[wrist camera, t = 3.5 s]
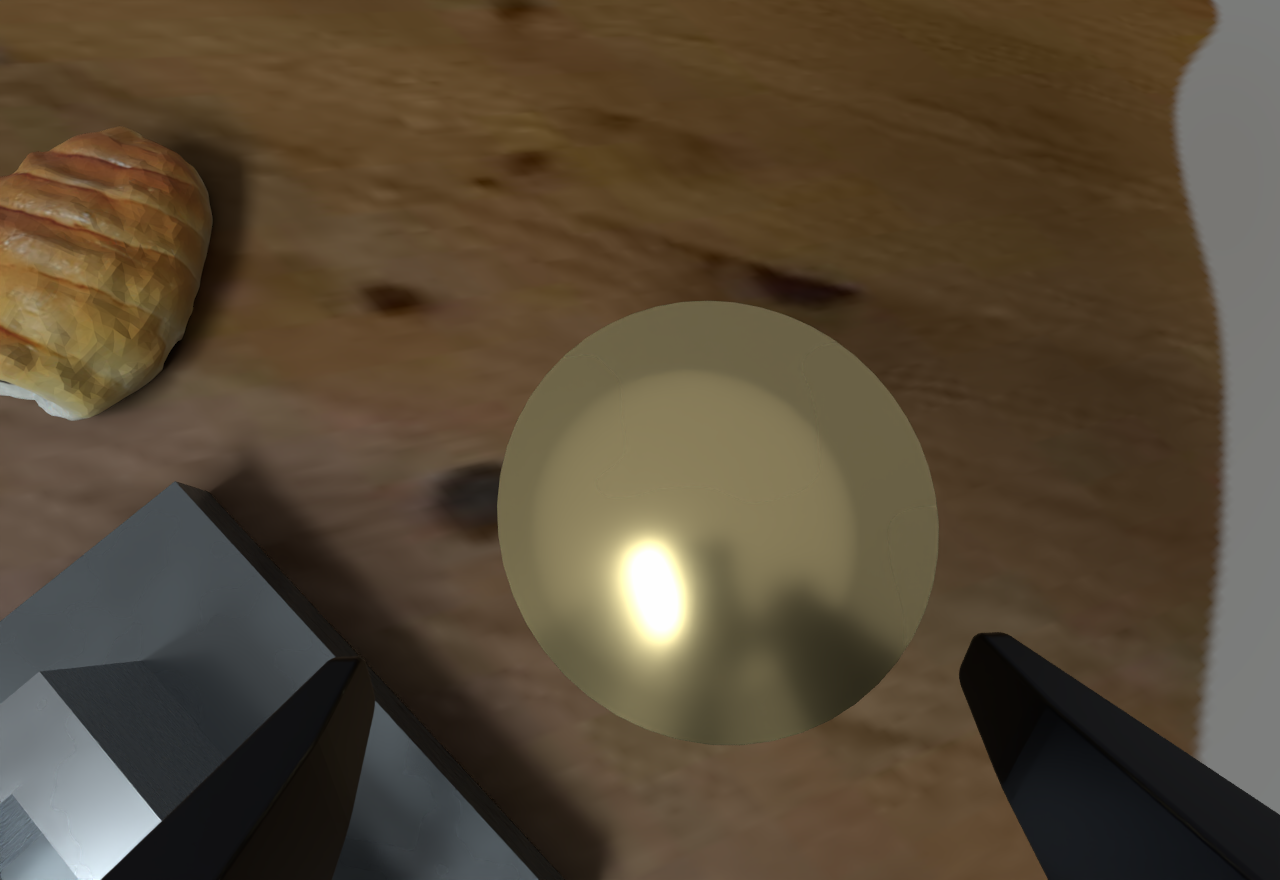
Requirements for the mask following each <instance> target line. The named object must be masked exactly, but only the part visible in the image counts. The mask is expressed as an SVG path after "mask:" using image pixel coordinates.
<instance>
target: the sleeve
mask: <svg viewBox="0 0 1280 880" xmlns="http://www.w3.org/2000/svg"><path fill="white" fill-rule="evenodd" d="M497 510H498V535H499V541H500V547H501V553H502V559H503V565H504V568H505V571H506V574H507V578H508V581H509V584H510V587H511V591H512V594H513V596H514V598H515V600H516V603H517V605H518V607H519V609H520V611H521V613H522V615H523V618H524V620H525V622H526V624H527V625H528V627H529V628H530V630H531V632H532V633H533V635H534V636H535V638H536V639H537V641H538V643H539V644H540V646H541V647H542V649H543V650H544V651H545V653H546V654H547V655H548V656H549V657H550V658H551V660H552V661H553V662H554V663H555V664H556V666H557V667H558V668H559V669H560V670H561V671H562V673H563V674H564V675H565V676H566V677H567V678H569V679H570V680H571V681H572V682H573V683H574V684H575V685H576V686H577V687H579V688H580V689H581V690H582V691H583V692H584V693H585V694H586V695H588V696H589V697H590V698H592V699H593V700H595V701H596V702H598V703H599V704H601V705H602V706H604V707H605V708H607V709H608V710H610V711H611V712H613V713H614V714H616V715H617V716H619V717H621V718H624V719H626V720H628V721H630V722H632V723H634V724H636V725H638V726H640V727H642V728H644V729H647V730H650V731H653V732H656V733H659V734H662V735H665V736H669V737H672V738H675V739H679V740H685V741H691V742H697V743H703V744H712V745H745V744H753V743H761V742H769V741H774V740H778V739H781V738H785V737H788V736H792V735H796V734H799V733H802V732H805V731H807V730H809V729H811V728H814V727H816V726H818V725H820V724H822V723H825V722H827V721H829V720H831V719H833V718H834V717H836V716H837V715H839V714H840V713H842V712H843V711H845V710H847V709H848V708H850V707H851V706H853V705H854V704H856V703H857V702H858V701H859V700H860V699H862V698H863V697H864V696H865V695H866V694H867V693H868V692H870V691H871V690H872V689H873V688H874V687H875V686H877V685H878V684H879V683H880V681H881V680H882V679H883V678H884V677H885V676H886V674H887V673H888V672H889V671H890V670H891V669H892V667H893V666H894V665H895V664H896V663H897V662H898V660H899V658H900V657H901V655H902V654H903V652H904V651H905V649H906V647H907V646H908V644H909V643H910V641H911V639H912V638H913V636H914V634H915V632H916V630H917V627H918V625H919V623H920V621H921V619H922V616H923V614H924V612H925V610H926V606H927V603H928V599H929V596H930V593H931V589H932V586H933V582H934V576H935V570H936V563H937V557H938V533H939V523H938V514H937V504H936V496H935V491H934V487H933V483H932V478H931V474H930V470H929V467H928V464H927V461H926V459H925V456H924V453H923V450H922V448H921V445H920V442H919V440H918V438H917V436H916V434H915V432H914V430H913V429H912V427H911V425H910V423H909V421H908V419H907V417H906V416H905V414H904V412H903V411H902V409H901V408H900V406H899V405H898V403H897V402H896V400H895V399H894V397H893V396H892V395H891V393H890V392H889V391H888V390H887V389H886V387H885V386H884V385H883V384H882V383H881V381H880V380H879V379H878V378H877V377H876V375H875V374H874V373H873V372H872V371H871V370H869V369H868V368H867V367H866V366H865V365H864V364H863V363H862V362H861V361H860V360H859V359H858V358H857V357H856V356H855V355H853V354H852V353H851V352H849V351H848V350H847V349H845V348H844V347H843V346H841V345H840V344H839V343H837V342H836V341H835V340H833V339H832V338H830V337H828V336H827V335H825V334H823V333H821V332H820V331H818V330H816V329H815V328H813V327H811V326H809V325H807V324H805V323H802V322H800V321H798V320H796V319H793V318H791V317H789V316H787V315H784V314H780V313H777V312H774V311H771V310H768V309H765V308H761V307H756V306H751V305H746V304H740V303H734V302H720V301H694V302H680V303H675V304H669V305H663V306H657V307H654V308H651V309H647V310H644V311H641V312H637V313H634V314H631V315H629V316H627V317H625V318H622V319H620V320H618V321H616V322H613V323H611V324H609V325H607V326H606V327H604V328H602V329H601V330H599V331H597V332H596V333H594V334H592V335H591V336H589V337H587V338H586V339H585V340H583V341H582V342H581V343H580V344H578V345H577V346H576V347H575V348H573V349H572V350H571V351H570V352H568V353H567V354H566V355H565V356H564V357H563V358H562V359H561V360H560V361H559V362H558V363H557V364H556V365H555V366H554V367H553V368H552V369H551V370H550V371H549V372H548V373H547V375H546V376H545V377H544V379H543V380H542V381H541V383H540V384H539V385H538V387H537V388H536V390H535V391H534V392H533V394H532V395H531V396H530V398H529V400H528V402H527V404H526V405H525V407H524V409H523V411H522V413H521V415H520V416H519V418H518V420H517V422H516V425H515V428H514V430H513V433H512V435H511V438H510V440H509V443H508V446H507V449H506V453H505V457H504V462H503V466H502V470H501V474H500V483H499V493H498V503H497Z"/></svg>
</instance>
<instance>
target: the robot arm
mask: <svg viewBox="0 0 1280 880" xmlns="http://www.w3.org/2000/svg"><path fill="white" fill-rule="evenodd" d="M959 679H960V684H961V687H962V690H963V692H964V695H965V697H966V700H967V702H968V705H969V707H970V710H971V712H972V715H973V717H974V720H975V722H976V725H977V727H978V730H979V732H980V735H981V738H982V740H983V743H984V745H985V748H986V750H987V753H988V755H989V758H990V760H991V763H992V765H993V768H994V770H995V773H996V775H997V777H998V780H999V782H1000V784H1001V787H1002V789H1003V791H1004V793H1005V795H1006V797H1007V799H1008V801H1009V803H1010V805H1011V807H1012V809H1013V811H1014V813H1015V815H1016V817H1017V819H1018V821H1019V823H1020V825H1021V827H1022V829H1023V831H1024V833H1025V835H1026V837H1027V839H1028V841H1029V843H1030V845H1031V847H1032V849H1033V851H1034V853H1035V855H1036V857H1037V859H1038V860H1039V862H1040V864H1041V866H1042V868H1043V870H1044V872H1045V874H1046V876H1047V878H1048V880H1280V815H1279V814H1278V813H1276V812H1275V811H1273V810H1271V809H1270V808H1269V807H1267V806H1265V805H1264V804H1263V803H1261V802H1260V801H1258V800H1256V799H1255V798H1254V797H1252V796H1251V795H1249V794H1248V793H1246V792H1245V791H1243V790H1242V789H1240V788H1238V787H1237V786H1235V785H1234V784H1232V783H1231V782H1229V781H1228V780H1226V779H1225V778H1223V777H1222V776H1220V775H1219V774H1217V773H1216V772H1214V771H1213V770H1211V769H1210V768H1208V767H1207V766H1205V765H1204V764H1202V763H1201V762H1199V761H1198V760H1196V759H1195V758H1193V757H1192V756H1190V755H1189V754H1187V753H1186V752H1184V751H1183V750H1181V749H1180V748H1178V747H1177V746H1175V745H1174V744H1172V743H1171V742H1169V741H1168V740H1166V739H1165V738H1163V737H1162V736H1160V735H1159V734H1157V733H1156V732H1154V731H1153V730H1151V729H1150V728H1148V727H1147V726H1145V725H1144V724H1142V723H1141V722H1139V721H1138V720H1136V719H1135V718H1133V717H1132V716H1130V715H1129V714H1127V713H1126V712H1124V711H1123V710H1121V709H1120V708H1118V707H1117V706H1115V705H1114V704H1112V703H1111V702H1109V701H1108V700H1106V699H1105V698H1103V697H1102V696H1100V695H1099V694H1097V693H1096V692H1094V691H1093V690H1091V689H1090V688H1088V687H1086V686H1085V685H1083V684H1082V683H1080V682H1079V681H1077V680H1076V679H1074V678H1073V677H1071V676H1070V675H1068V674H1067V673H1065V672H1064V671H1062V670H1061V669H1059V668H1058V667H1056V666H1055V665H1053V664H1052V663H1050V662H1049V661H1047V660H1046V659H1044V658H1043V657H1041V656H1040V655H1038V654H1037V653H1035V652H1034V651H1032V650H1031V649H1029V648H1028V647H1026V646H1025V645H1023V644H1022V643H1020V642H1019V641H1017V640H1016V639H1014V638H1013V637H1011V636H1009V635H1008V634H1005V633H1001V632H994V633H979V634H977V635H975V636H974V637H973V639H972V641H971V643H970V646H969V648H968V650H967V653H966V655H965V657H964V660H963V662H962V664H961V667H960V671H959ZM374 709H375V694H374V690H373V686H372V683H371V679H370V676H369V672H368V668H367V665H366V662H365V660H364V659H363V658H362V657H359V656H350V657H335V658H332V659H330V660H329V661H327V662H326V663H325V664H324V665H323V666H322V667H321V668H320V669H319V670H318V671H317V672H316V673H315V674H314V675H313V676H312V677H310V678H309V679H308V680H307V681H306V682H305V683H304V684H303V685H302V686H301V687H300V688H299V689H298V690H297V691H296V692H295V693H294V694H293V695H292V696H291V697H290V698H289V699H288V700H287V701H286V702H285V703H283V704H282V705H281V706H280V707H279V708H278V709H277V710H276V711H275V712H274V713H273V714H272V715H271V716H270V717H269V718H268V719H267V720H266V721H265V722H264V723H263V724H262V725H261V726H260V727H259V728H258V729H257V730H255V731H254V732H253V733H252V734H251V735H250V736H249V737H248V738H247V739H246V740H245V741H244V742H243V743H242V744H241V745H240V746H239V747H238V748H237V749H236V750H235V751H234V752H233V753H232V754H231V755H230V756H228V757H227V758H226V759H225V760H224V761H223V762H222V763H221V764H220V765H219V766H218V767H217V768H216V769H215V770H214V771H213V772H212V773H211V774H210V775H209V776H208V777H207V778H206V779H205V780H204V781H203V782H201V783H200V784H199V785H198V786H197V787H196V788H195V789H194V790H193V791H192V792H191V793H190V794H189V795H188V796H187V797H186V798H185V799H184V800H183V801H182V802H181V803H180V804H179V805H178V806H177V807H176V808H175V809H173V810H172V811H171V812H170V813H169V814H168V815H167V816H166V817H165V818H164V819H163V820H162V821H161V822H160V823H159V824H158V825H157V826H156V827H155V828H154V829H153V830H152V831H151V832H150V833H149V834H148V835H146V836H145V837H144V838H143V839H142V840H141V841H140V842H139V843H138V844H137V845H136V846H135V847H134V848H133V849H132V850H131V851H130V852H129V853H128V854H127V855H126V856H125V857H124V858H123V859H122V860H121V861H120V862H118V863H117V864H116V865H115V866H114V867H113V868H112V869H111V870H110V871H109V872H108V873H107V874H106V875H105V876H104V877H103V878H102V879H101V880H332V879H333V876H334V873H335V869H336V866H337V863H338V860H339V857H340V854H341V851H342V848H343V845H344V841H345V838H346V835H347V831H348V828H349V824H350V820H351V816H352V812H353V808H354V803H355V798H356V794H357V789H358V784H359V780H360V775H361V770H362V766H363V761H364V756H365V752H366V747H367V742H368V738H369V733H370V728H371V724H372V719H373V714H374Z"/></svg>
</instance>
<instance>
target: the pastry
mask: <svg viewBox="0 0 1280 880" xmlns="http://www.w3.org/2000/svg"><path fill="white" fill-rule="evenodd" d="M212 223H213V218H212V212H211V208H210V203H209V195H208V191H207V189H206V187H205V185H204V183H203V181H202V179H201V177H200V176H199V174H198V172H197V171H196V170H195V168H194V167H193V166H191V165H190V164H188V163H187V162H186V161H185V160H184V159H183V158H182V157H181V156H180V155H179V154H178V153H176V152H174V151H172V150H170V149H168V148H166V147H164V146H162V145H160V144H158V143H156V142H153V141H150V140H148V139H146V138H144V137H143V136H142V135H141V134H139V133H137V132H135V131H133V130H131V129H128V128H125V127H121V126H118V127H115V128H110V129H106V130H104V131H99V132H95V133H85V134H81V135H78V136H75V137H73V138H71V139H69V140H67V141H65V142H64V143H62V144H60V145H58V146H56V147H55V148H53V149H52V150H50V151H46V152H39V151H38V152H33V153H30V154H28V156H27V157H26V159H25V160H24V161H23V162H22V164H21V165H20V167H19V168H18V170H17V171H16V172H15V173H13V174H11V175H8V176H2V177H0V395H7V396H12V397H15V398H20V399H28V400H36V402H37V403H38V404H39V406H40V407H41V408H43V409H44V410H45V411H46V412H47V413H48V414H50V415H52V416H59V417H63V418H66V419H68V420H80V419H86V418H89V417H93V416H95V415H98V414H100V413H101V412H103V411H104V410H106V409H108V408H109V407H111V406H113V405H114V404H116V403H117V402H119V401H120V400H122V399H123V398H125V397H127V396H129V395H131V394H132V393H134V392H136V391H137V390H139V389H140V388H142V387H143V386H145V385H146V384H147V383H149V382H150V381H151V380H152V379H153V378H155V377H156V376H157V375H158V374H159V373H160V372H161V371H162V369H163V364H164V362H165V360H166V358H167V356H168V354H169V352H170V351H171V349H172V348H173V346H174V345H175V344H176V343H177V342H178V341H179V340H181V339H182V338H183V335H184V332H185V329H186V325H187V322H188V319H189V317H190V315H191V314H192V311H193V303H194V299H195V297H196V295H197V292H198V290H199V287H200V279H201V275H202V271H203V267H204V262H205V259H206V256H207V252H208V247H209V242H210V236H211V230H212Z"/></svg>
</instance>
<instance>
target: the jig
mask: <svg viewBox="0 0 1280 880" xmlns="http://www.w3.org/2000/svg"><path fill="white" fill-rule="evenodd" d="M350 656H359V655H358V654H357V653H356V652H355V651H354V650H353V649H352V648H351V647H350V645H349V644H348V643H347V642H346V641H345V640H344V639H343V638H342V637H341V636H340V635H339V633H338V632H337V631H336V630H335V629H334V628H333V627H332V626H331V625H330V624H329V623H328V622H327V620H326V619H325V618H324V617H323V616H322V615H321V614H320V613H319V612H318V611H317V610H316V608H315V607H314V606H313V605H312V604H311V603H310V602H309V601H308V600H307V599H306V598H305V597H304V595H303V594H302V593H301V592H300V591H299V590H298V589H297V588H296V587H295V586H294V585H293V584H292V582H291V581H290V580H289V579H288V578H287V577H286V576H285V575H284V574H283V573H282V572H281V570H280V569H279V568H278V567H277V566H276V565H275V564H274V563H273V562H272V561H271V560H270V559H269V557H268V556H267V555H266V554H265V553H264V552H263V551H262V550H261V549H260V548H259V547H258V545H257V544H256V543H255V542H254V541H253V540H252V539H251V538H250V537H249V536H248V535H247V534H246V532H245V531H244V530H243V529H242V528H241V527H240V526H239V525H238V524H237V523H236V522H235V520H234V519H233V518H232V517H231V516H230V515H229V514H228V513H227V512H226V511H225V510H224V509H223V507H222V506H221V505H220V504H219V503H218V502H217V501H216V500H215V499H214V498H213V497H212V495H211V494H210V493H209V492H207V491H204V490H201V489H198V488H195V487H191V486H188V485H185V484H182V483H179V482H176V481H175V482H174V483H172V484H171V485H170V486H169V487H167V488H166V489H165V490H164V491H162V492H161V493H160V494H159V495H157V496H156V497H155V498H154V499H152V500H151V501H150V502H149V503H147V504H146V505H145V506H144V507H142V508H141V509H140V510H139V511H137V512H136V513H135V514H134V515H132V516H131V517H130V518H129V519H127V520H126V521H125V522H124V523H123V524H121V525H120V526H119V527H118V528H116V529H115V530H114V531H113V532H111V533H110V534H109V535H108V536H106V537H105V538H104V539H103V540H101V541H100V542H99V543H98V544H96V545H95V546H94V547H93V548H91V549H90V550H89V551H88V552H86V553H85V554H84V555H83V556H81V557H80V558H79V559H78V560H76V561H75V562H74V563H73V564H71V565H70V566H69V567H68V568H66V569H65V570H64V571H63V572H61V573H60V574H59V575H58V576H56V577H55V578H54V579H53V580H51V581H50V582H49V583H48V584H46V585H45V586H44V587H43V588H41V589H40V590H39V591H38V592H36V593H35V594H34V595H33V596H31V597H30V598H29V599H28V600H26V601H25V602H24V603H23V604H21V605H20V606H19V607H18V608H16V609H15V610H14V611H13V612H11V613H10V614H9V615H8V616H6V617H5V618H4V619H3V620H1V621H0V880H101V879H102V878H103V877H104V876H105V875H106V874H107V873H108V872H109V871H110V870H111V869H112V868H113V867H114V866H115V865H116V864H117V863H118V862H120V861H121V860H122V859H123V858H124V857H125V856H126V855H127V854H128V853H129V852H130V851H131V850H132V849H133V848H134V847H135V846H136V845H137V844H138V843H139V842H140V841H141V840H142V839H143V838H144V837H145V836H146V835H148V834H149V833H150V832H151V831H152V830H153V829H154V828H155V827H156V826H157V825H158V824H159V823H160V822H161V821H162V820H163V819H164V818H165V817H166V816H167V815H168V814H169V813H170V812H171V811H172V810H173V809H175V808H176V807H177V806H178V805H179V804H180V803H181V802H182V801H183V800H184V799H185V798H186V797H187V796H188V795H189V794H190V793H191V792H192V791H193V790H194V789H195V788H196V787H197V786H198V785H199V784H200V783H201V782H203V781H204V780H205V779H206V778H207V777H208V776H209V775H210V774H211V773H212V772H213V771H214V770H215V769H216V768H217V767H218V766H219V765H220V764H221V763H222V762H223V761H224V760H225V759H226V758H227V757H228V756H230V755H231V754H232V753H233V752H234V751H235V750H236V749H237V748H238V747H239V746H240V745H241V744H242V743H243V742H244V741H245V740H246V739H247V738H248V737H249V736H250V735H251V734H252V733H253V732H254V731H255V730H257V729H258V728H259V727H260V726H261V725H262V724H263V723H264V722H265V721H266V720H267V719H268V718H269V717H270V716H271V715H272V714H273V713H274V712H275V711H276V710H277V709H278V708H279V707H280V706H281V705H282V704H283V703H285V702H286V701H287V700H288V699H289V698H290V697H291V696H292V695H293V694H294V693H295V692H296V691H297V690H298V689H299V688H300V687H301V686H302V685H303V684H304V683H305V682H306V681H307V680H308V679H309V678H310V677H312V676H313V675H314V674H315V673H316V672H317V671H318V670H319V669H320V668H321V667H322V666H323V665H324V664H325V663H326V662H327V661H329V660H330V659H332V658H335V657H350ZM359 657H360V656H359ZM366 665H367V664H366ZM367 668H368V672H369V676H370V679H371V683H372V686H373V690H374V694H375V709H374V714H373V719H372V724H371V728H370V733H369V738H368V742H367V747H366V752H365V756H364V761H363V766H362V770H361V775H360V780H359V784H358V789H357V794H356V798H355V803H354V808H353V812H352V816H351V820H350V824H349V828H348V831H347V835H346V838H345V841H344V845H343V848H342V851H341V854H340V857H339V860H338V863H337V866H336V869H335V873H334V876H333V879H332V880H565V879H564V878H563V877H562V876H561V875H560V874H559V873H558V871H557V870H556V869H555V868H554V867H553V866H552V865H551V864H550V863H549V862H548V861H547V859H546V858H545V857H544V856H543V855H542V854H541V853H540V852H539V851H538V850H537V849H536V848H535V846H534V845H533V844H532V843H531V842H530V841H529V840H528V839H527V838H526V837H525V836H524V834H523V833H522V832H521V831H520V830H519V829H518V828H517V827H516V826H515V825H514V824H513V823H512V821H511V820H510V819H509V818H508V817H507V816H506V815H505V814H504V813H503V812H502V811H501V809H500V808H499V807H498V806H497V805H496V804H495V803H494V802H493V801H492V800H491V799H490V798H489V796H488V795H487V794H486V793H485V792H484V791H483V790H482V789H481V788H480V787H479V786H478V785H477V783H476V782H475V781H474V780H473V779H472V778H471V777H470V776H469V775H468V774H467V773H466V771H465V770H464V769H463V768H462V767H461V766H460V765H459V764H458V763H457V762H456V761H455V760H454V758H453V757H452V756H451V755H450V754H449V753H448V752H447V751H446V750H445V749H444V748H443V746H442V745H441V744H440V743H439V742H438V741H437V740H436V739H435V738H434V737H433V736H432V735H431V733H430V732H429V731H428V730H427V729H426V728H425V727H424V726H423V725H422V724H421V723H420V721H419V720H418V719H417V718H416V717H415V716H414V715H413V714H412V713H411V712H410V711H409V710H408V708H407V707H406V706H405V705H404V704H403V703H402V702H401V701H400V700H399V699H398V698H397V696H396V695H395V694H394V693H393V692H392V691H391V690H390V689H389V688H388V687H387V686H386V685H385V683H384V682H383V681H382V680H381V679H380V678H379V677H378V676H377V675H376V674H375V673H374V672H373V670H372V669H371V668H370V667H369V666H368V665H367Z"/></svg>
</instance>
